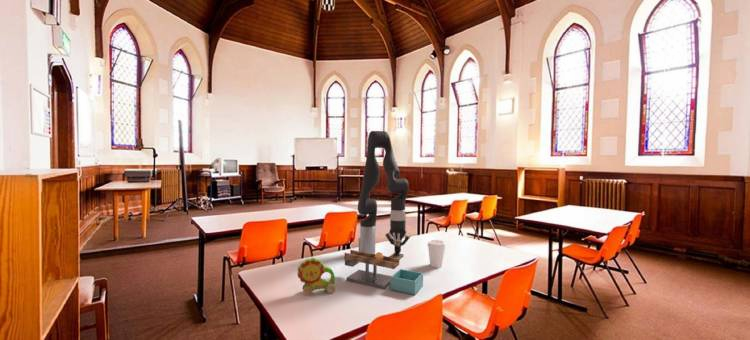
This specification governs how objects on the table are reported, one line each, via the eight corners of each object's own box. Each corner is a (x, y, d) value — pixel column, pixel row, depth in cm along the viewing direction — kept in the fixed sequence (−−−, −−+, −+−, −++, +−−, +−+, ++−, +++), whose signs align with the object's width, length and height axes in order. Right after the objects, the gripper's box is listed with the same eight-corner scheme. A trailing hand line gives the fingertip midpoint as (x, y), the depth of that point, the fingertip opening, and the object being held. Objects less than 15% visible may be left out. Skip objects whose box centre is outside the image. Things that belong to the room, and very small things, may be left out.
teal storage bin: (390, 290, 143) (391, 276, 143) (400, 281, 153) (400, 268, 153) (414, 295, 138) (415, 281, 138) (422, 285, 149) (423, 273, 148)
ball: (373, 261, 151) (373, 252, 150) (376, 258, 154) (377, 250, 154) (380, 263, 149) (381, 254, 149) (384, 260, 153) (385, 252, 152)
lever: (344, 265, 156) (344, 253, 156) (362, 254, 173) (362, 243, 173) (393, 275, 145) (394, 263, 145) (407, 263, 162) (408, 252, 161)
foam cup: (443, 263, 180) (444, 240, 179) (445, 269, 171) (446, 244, 170) (426, 262, 181) (427, 239, 180) (427, 268, 172) (428, 244, 171)
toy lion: (333, 288, 145) (333, 254, 144) (335, 293, 139) (335, 258, 139) (297, 291, 140) (297, 257, 140) (297, 297, 135) (297, 261, 134)
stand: (346, 280, 153) (346, 260, 152) (358, 272, 164) (359, 253, 163) (384, 289, 144) (385, 267, 144) (395, 280, 155) (395, 259, 154)
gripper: (382, 218, 159) (382, 253, 160) (407, 221, 153) (407, 257, 154) (388, 216, 166) (388, 249, 167) (413, 218, 160) (412, 253, 161)
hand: (397, 253), depth 160 cm, fingers closed
